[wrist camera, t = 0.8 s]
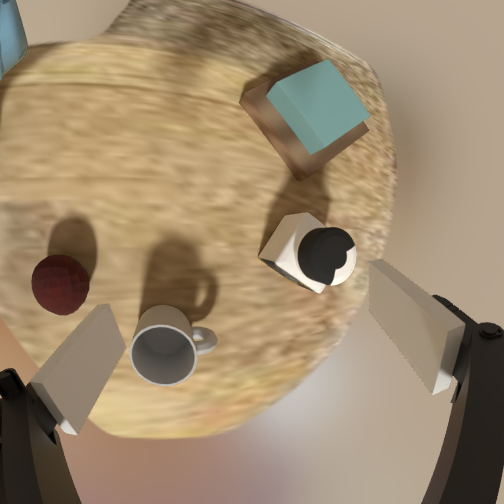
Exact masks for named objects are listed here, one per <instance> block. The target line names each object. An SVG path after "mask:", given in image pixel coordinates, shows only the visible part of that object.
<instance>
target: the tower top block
mask: <svg viewBox="0 0 504 504" xmlns="http://www.w3.org/2000/svg"><path fill="white" fill-rule="evenodd" d="M266 97H267V98H268V99H269V100H270V102H271V103H272V104H273V106H274V107H275V108H276V109H277V111H278V112H279V113H280V114H281V116H282V117H283V118H284V120H285V121H286V122H287V124H288V125H289V126H290V128H291V129H292V130H293V132H294V133H295V134H296V136H297V137H298V138H299V140H300V141H301V143H302V144H303V145H304V147H305V148H306V150H307V151H308V152H309V154H310V155H312V154H313V153H315V152H317V151H319V150H321V149H323V148H325V147H326V146H328V145H329V144H331V143H332V142H334V141H335V140H336V139H338V138H339V137H341V136H342V135H344V134H345V133H346V132H348V131H349V130H351V129H352V128H354V127H355V126H357V125H358V124H360V123H361V122H362V121H364V120H365V119H367V118H368V117H370V114H369V113H368V111H367V110H366V108H365V107H364V105H363V104H362V102H361V101H360V100H359V98H358V97H357V95H356V94H355V93H354V91H353V90H352V89H351V87H350V86H349V85H348V83H347V82H346V81H345V79H344V78H343V77H342V75H341V74H340V73H339V72H338V70H337V69H336V68H335V67H334V65H333V64H332V63H331V62H330V61H329V59H327V60H325V61H322V62H320V63H318V64H315V65H313V66H311V67H308V68H306V69H304V70H302V71H299V72H297V73H295V74H293V75H291V76H289V77H287V78H284V79H282V80H280V81H278V82H276V83H275V85H274V86H273V87H272V89H271V90H270V91H269V92H268V94H267V95H266Z"/></svg>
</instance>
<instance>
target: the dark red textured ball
mask: <svg viewBox="0 0 504 504" xmlns="http://www.w3.org/2000/svg"><path fill="white" fill-rule="evenodd" d="M31 282H32V290H33V293H34V296H35V298H36V300H37V301H38V303H39V304H40V305H41V306H42V307H43V308H44V309H46V310H48V311H50V312H52V313H55V314H57V315H69V314H71V313H74V312H75V311H76V310H78V309H79V307H80V306H81V305H82V304H83V303H84V302H85V300H86V297H87V294H88V291H89V277H88V275H87V272H86V271H85V269H84V268H83V267H82V266H81V265H80V264H79V262H77V261H76V260H74V259H72V258H71V257H69V256H64V255H53V256H48V257H46V258H45V259H43V260H42V261H41V262H39V264H38V265H37V266H36V267H35V269H34V271H33V274H32V281H31Z"/></svg>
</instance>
